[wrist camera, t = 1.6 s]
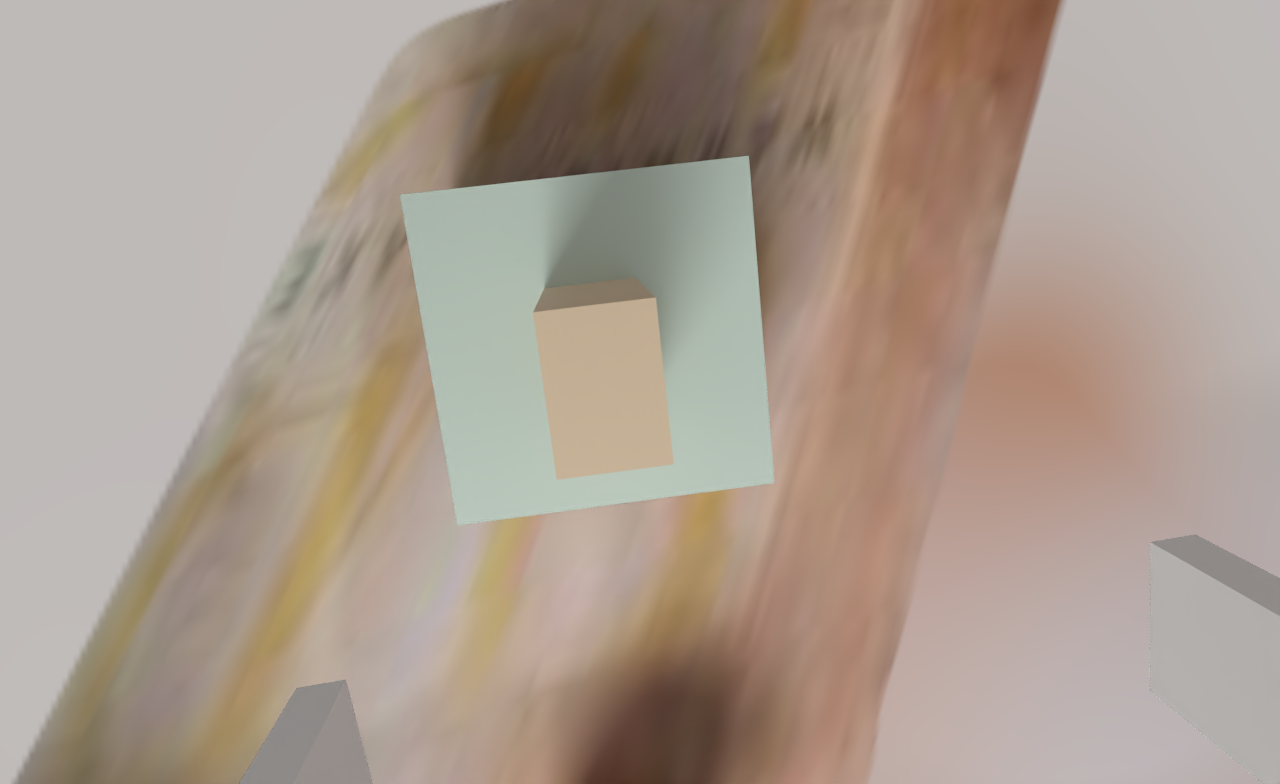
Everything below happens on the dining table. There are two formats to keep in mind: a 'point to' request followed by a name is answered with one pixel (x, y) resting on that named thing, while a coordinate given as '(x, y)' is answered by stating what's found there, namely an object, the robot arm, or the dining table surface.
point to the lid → (594, 337)
